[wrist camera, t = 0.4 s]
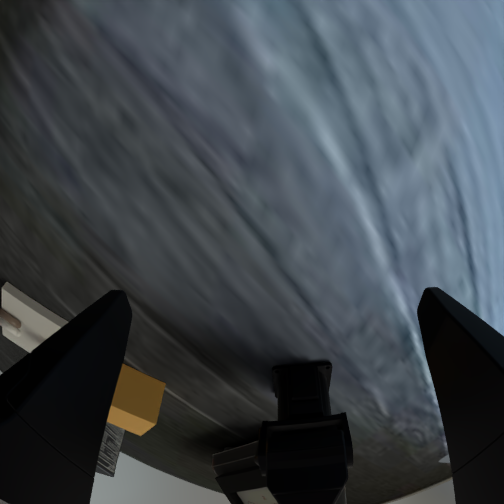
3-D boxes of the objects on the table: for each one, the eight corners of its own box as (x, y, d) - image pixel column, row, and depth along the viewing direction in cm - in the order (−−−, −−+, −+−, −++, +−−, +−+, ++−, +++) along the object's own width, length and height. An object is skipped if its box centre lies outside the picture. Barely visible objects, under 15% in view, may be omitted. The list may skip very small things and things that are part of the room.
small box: (69, 392, 41) (49, 445, 33) (101, 397, 41) (82, 455, 32) (98, 422, 47) (84, 470, 39) (127, 427, 47) (115, 478, 38)
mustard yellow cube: (165, 383, 36) (156, 424, 31) (149, 399, 39) (140, 435, 34) (121, 363, 35) (108, 403, 30) (110, 381, 37) (98, 417, 32)
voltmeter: (278, 423, 42) (278, 549, 25) (340, 445, 48) (349, 544, 31) (212, 447, 49) (202, 546, 32) (275, 466, 55) (274, 551, 38)
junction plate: (119, 350, 33) (107, 382, 29) (100, 384, 38) (90, 411, 34) (3, 279, 28) (-17, 305, 24) (3, 326, 33) (-11, 350, 30)
